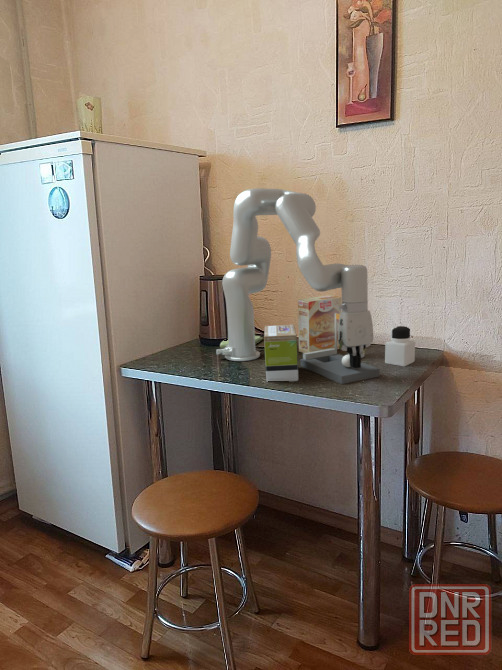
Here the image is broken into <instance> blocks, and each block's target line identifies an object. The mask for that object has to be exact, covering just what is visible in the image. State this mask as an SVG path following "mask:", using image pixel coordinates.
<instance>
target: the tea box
mask: <svg viewBox="0 0 502 670" xmlns="http://www.w3.org/2000/svg"><path fill="white" fill-rule="evenodd" d="M263 337H264V338H263V341H264V343H263V344H264V361H265V365H264V366H265V377H266V379H265V380H266V382H267V383H269V382H268V381H289V382H298V381H299V358H298V357H299V355H298V354H299V353H298V352H299V350H298V337H297V332H296V328H295V324H282V325H280V324H279V325H264V335H263Z"/></svg>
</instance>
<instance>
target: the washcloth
mask: <svg viewBox="0 0 502 670" xmlns="http://www.w3.org/2000/svg"><path fill="white" fill-rule="evenodd" d="M262 340H263V341H264V338H263V337H262V336H260V335H255V346H256V345H257V343H258V344H259V343H260V342H261V341H262ZM226 345H229V342H228V340H227V341H224V340H222V341H221V342H220V344H219V348H220V349H224V348H225V347H226Z"/></svg>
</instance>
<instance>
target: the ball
mask: <svg viewBox="0 0 502 670" xmlns="http://www.w3.org/2000/svg"><path fill="white" fill-rule="evenodd" d="M343 356H344V357H343V358H342V364H343V366H345V367H347V368H349V367H351V366H350V355H348V354H345V355H343Z"/></svg>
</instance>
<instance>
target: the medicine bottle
mask: <svg viewBox="0 0 502 670" xmlns="http://www.w3.org/2000/svg"><path fill="white" fill-rule="evenodd" d="M384 344H385V345H384V363H385V364H387V365H394V366H401V367H406V366H409V365H411V364H414V363H415V358H416V356H415V355H416V341H415V340H411V329H410V328H409V327H408V326H405V325H404V326H403V325H397V326H396V325H395V326H393V327H391V328H390V340H389V341H386V342H384Z"/></svg>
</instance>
